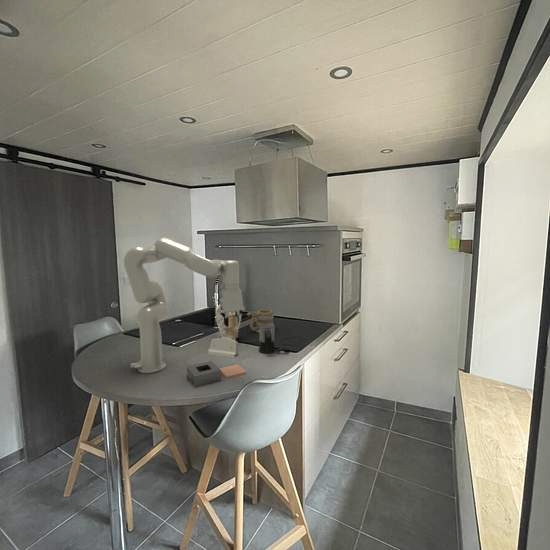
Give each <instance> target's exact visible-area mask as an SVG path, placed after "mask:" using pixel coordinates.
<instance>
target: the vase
mask: <svg viewBox="0 0 550 550" xmlns="http://www.w3.org/2000/svg"><path fill="white" fill-rule="evenodd" d="M219 306H220V304H219V305H217V306H216V308H215V322H216V325H217V327H218V331H219V334H220V336H221V337H220V338H227V337H226V334H225V324H224V317H223V316H222V315H221V314H219V313H217V310H218V308H219ZM221 312H224V311H222V310H221ZM242 313H243V312H242ZM242 313H241V314H240V316H239V323H238V330H239V329H240V325H241V322H242ZM228 315H235V311H234V312H228ZM231 339H233V340H235V341H237V340H236V339H237V337H236V338H231Z"/></svg>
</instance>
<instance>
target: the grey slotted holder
mask: <svg viewBox="0 0 550 550" xmlns="http://www.w3.org/2000/svg"><path fill="white" fill-rule="evenodd" d="M186 377H187V379H188V378H189V379H188V381H189V382H190V383H191V382H192V383H191V384H192V385H193V387H194V388H197V387H198V386H199V387H203V386H206V385H210V384H213V383H218V382H221V381H222V373H221V370H220V369H219V366H218V365H217V364H216V363H214V362H213V361H212V360H210V361H206V362H202V363H201V362H200V363H196V364H191V365H187V366H186Z"/></svg>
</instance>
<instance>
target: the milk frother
mask: <svg viewBox="0 0 550 550" xmlns="http://www.w3.org/2000/svg"><path fill="white" fill-rule="evenodd" d="M275 327H276V326H275V324H274V325H273V324H261V325H259V333H258V334H259V337H258V338H259V346H258V352H260V353H261V354H272V353H274V352H277V351H278V352H279V351H283V352H287V350H289V349H290V347H287V346H282V347H281V348H277V349H275V331H274V329H275Z"/></svg>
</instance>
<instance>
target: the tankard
mask: <svg viewBox="0 0 550 550" xmlns="http://www.w3.org/2000/svg"><path fill="white" fill-rule="evenodd" d="M273 313H274V312H273V310H271V309H261V310H257V311H256V313H255V312H251V311H249V312H247V313H246V315H247V317H250V316H251V320H250V323H249V327H250V329H251V330H252V331H255V332H256V333H258V334H259V325H261V324H273V325H275V324H274V320H273V319H274V316H275V314H273ZM255 320H256V322H255ZM254 323H255V324H256V326H254ZM274 332H275V328H274Z"/></svg>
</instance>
